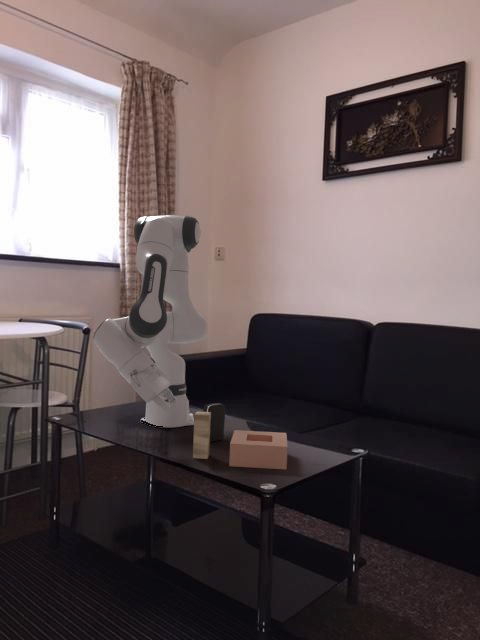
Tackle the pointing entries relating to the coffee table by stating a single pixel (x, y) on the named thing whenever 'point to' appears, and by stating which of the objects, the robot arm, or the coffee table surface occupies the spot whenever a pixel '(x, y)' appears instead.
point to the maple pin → (201, 435)
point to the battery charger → (216, 420)
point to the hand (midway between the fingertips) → (171, 405)
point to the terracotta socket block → (258, 449)
